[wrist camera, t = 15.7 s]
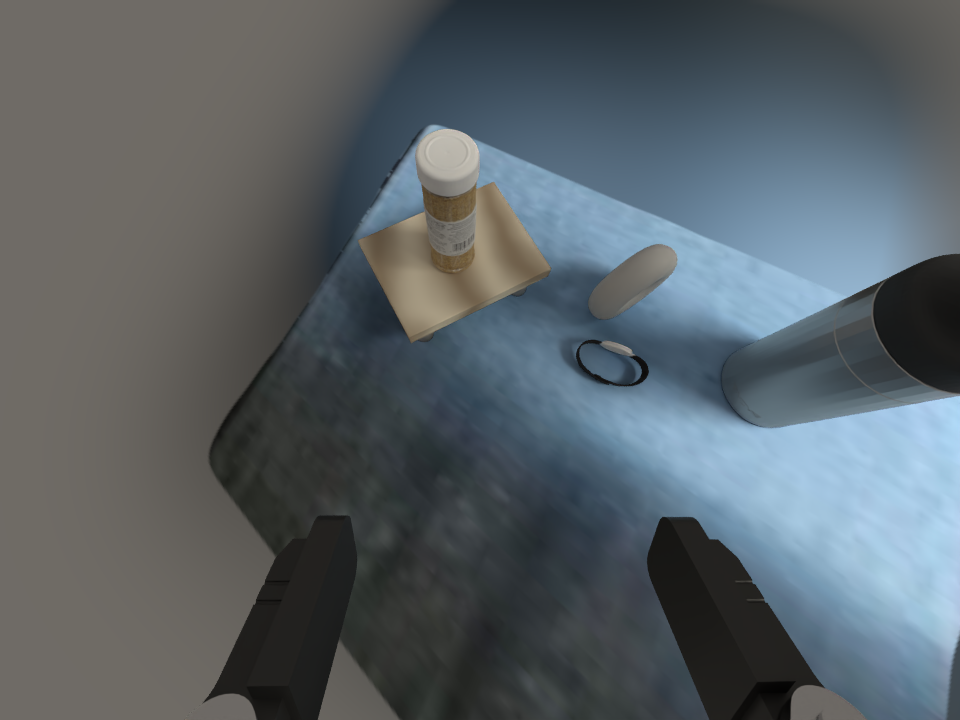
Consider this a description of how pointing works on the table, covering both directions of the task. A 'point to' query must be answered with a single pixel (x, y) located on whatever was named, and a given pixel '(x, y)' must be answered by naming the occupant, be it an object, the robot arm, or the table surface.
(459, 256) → the sprinkles bottle
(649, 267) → the donut
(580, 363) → the watch
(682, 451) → the table surface
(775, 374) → the robot arm
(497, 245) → the small wooden stool
